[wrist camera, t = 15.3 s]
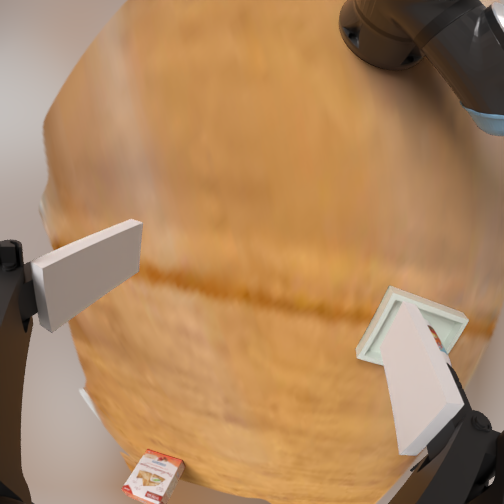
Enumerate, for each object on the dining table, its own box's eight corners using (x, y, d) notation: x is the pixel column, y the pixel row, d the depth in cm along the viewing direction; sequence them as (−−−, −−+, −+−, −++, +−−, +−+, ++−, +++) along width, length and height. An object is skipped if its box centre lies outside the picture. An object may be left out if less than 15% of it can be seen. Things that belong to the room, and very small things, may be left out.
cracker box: (182, 458, 76) (158, 505, 57) (185, 467, 78) (163, 511, 59) (146, 447, 79) (120, 489, 60) (151, 456, 81) (126, 496, 62)
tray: (389, 285, 46) (393, 292, 43) (463, 312, 44) (469, 320, 41) (355, 348, 50) (356, 358, 48) (427, 368, 48) (431, 377, 46)
